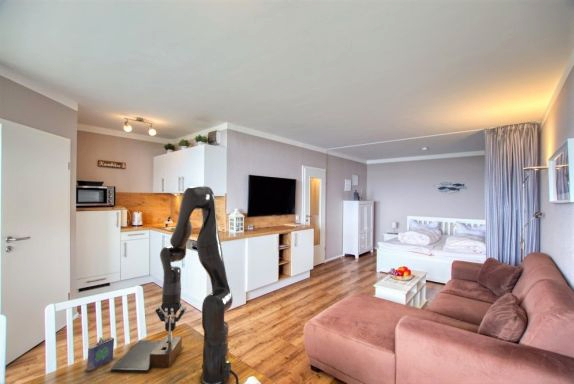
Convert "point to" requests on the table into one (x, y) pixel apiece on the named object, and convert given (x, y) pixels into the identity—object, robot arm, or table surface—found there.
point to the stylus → (170, 332)
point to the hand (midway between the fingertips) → (170, 330)
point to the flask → (100, 353)
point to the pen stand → (165, 352)
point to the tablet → (137, 358)
